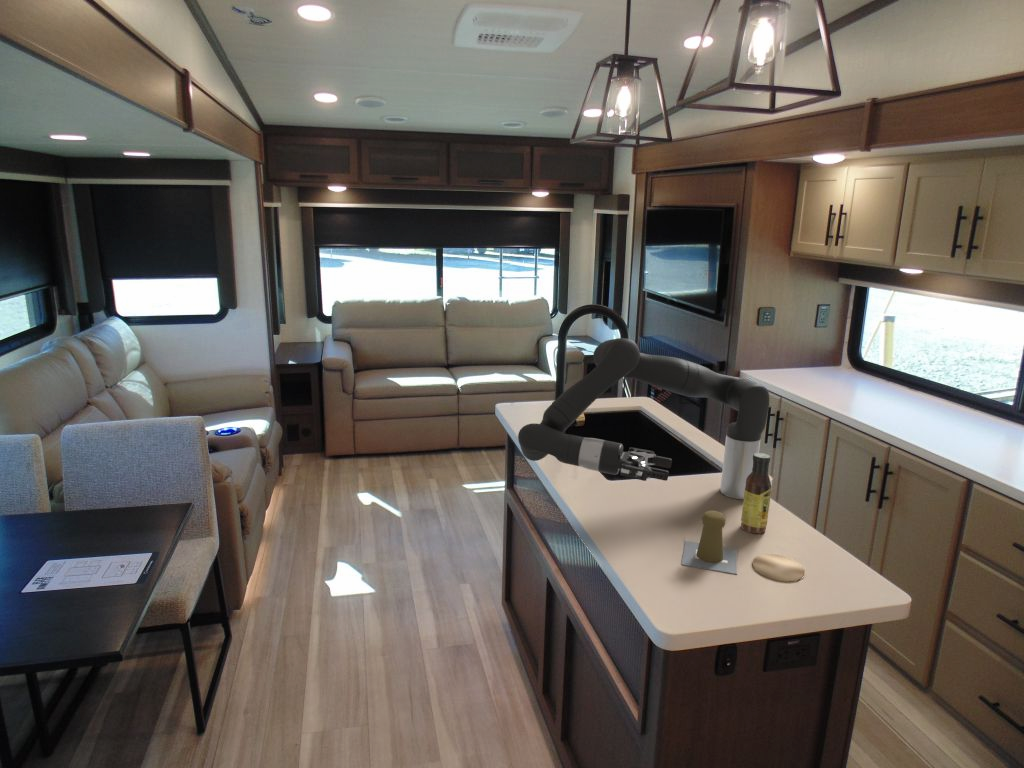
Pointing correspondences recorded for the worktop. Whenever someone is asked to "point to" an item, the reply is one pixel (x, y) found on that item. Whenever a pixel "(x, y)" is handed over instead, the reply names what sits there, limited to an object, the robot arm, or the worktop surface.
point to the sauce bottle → (757, 496)
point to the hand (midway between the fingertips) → (669, 469)
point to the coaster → (778, 567)
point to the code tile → (693, 561)
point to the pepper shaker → (711, 537)
